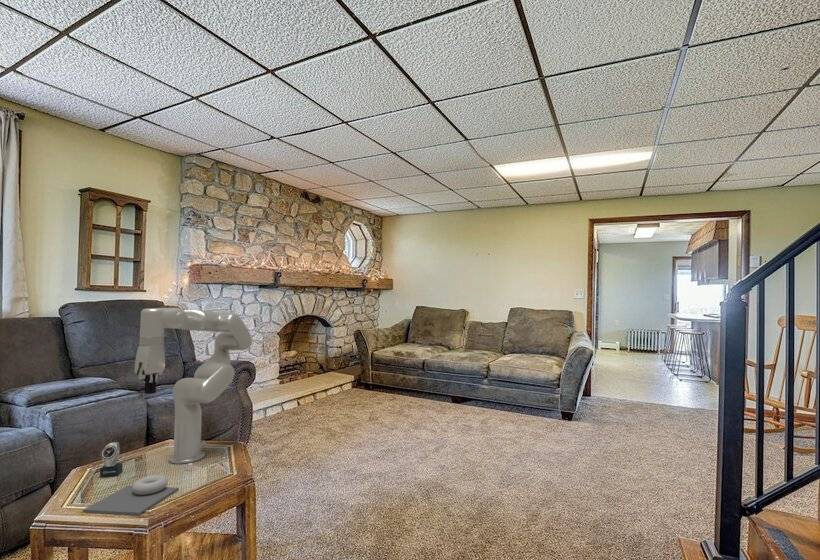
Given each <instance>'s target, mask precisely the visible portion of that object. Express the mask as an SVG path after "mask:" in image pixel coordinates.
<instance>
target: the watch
mask: <svg viewBox="0 0 820 560" xmlns="http://www.w3.org/2000/svg"><path fill="white" fill-rule="evenodd" d="M120 451H121V450H120V443H119V442H117V441H116V442H109V443H108V444H107V445H106V446H105V447H104V448H103V449H102V451H101V452H100V457H101V460H102V463H103V464H104V465H103V466H101V468H99V478H100V477H102V478H110V477H118V476H119V475H120V474H122V473H123V465H124V463H123V462H118V461H119V458H120V454H121V453H120Z"/></svg>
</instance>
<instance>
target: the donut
mask: <svg viewBox="0 0 820 560" xmlns="http://www.w3.org/2000/svg"><path fill="white" fill-rule="evenodd" d="M168 480H169V479H168V477H167V476H165V475H162V474H160V475H159V474H155V475H148V476H144V477H142V478H140V479H138V480H136V481H135V482H134V483H133V484H132V485H131V486H132V491H133V492H134V493H135V494H138V495H148V494H153V493H156V492H159V491H161V490H162V489H164V488H165V487H168V483H169V481H168Z"/></svg>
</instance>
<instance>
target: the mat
mask: <svg viewBox="0 0 820 560" xmlns="http://www.w3.org/2000/svg"><path fill="white" fill-rule="evenodd" d="M132 486H133V485H126V486H124V487H122V488H121V489H119V490H117V491H115V492H113V493H112V494H110V495H108V496H106V497H104V498H101V499H100V500H98V501H97V502H95V503H93V504H91V505H89V506H87V507H86V508H84V509H82V513H83V512H86V514H100V515H101V514H103V515H123V516H138V515H139V516H141V515H142V514H141V513H143V512H144V513H146V512H147V511H149V510H150V509H152V508H153V507H155V506H156V505H157V504H159V503H161V502H162V501H165V500H166V499H167V498H168V497H171V495H174V494H175V493H176V492H178V491H179V487H169V486H166V487H165V488H164V489H162V490H161V491H159V492H156V493H153V494H148V495H138V494H135V493H134V492H133V491H132ZM148 509H149V510H148ZM146 510H147V511H146ZM145 511H146V512H145ZM144 513H143V514H144ZM140 514H141V515H140Z"/></svg>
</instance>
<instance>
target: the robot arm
mask: <svg viewBox="0 0 820 560" xmlns="http://www.w3.org/2000/svg"><path fill="white" fill-rule="evenodd" d="M139 325H140V329H139V331H140V332H139V346H138V347H137V352H136V354H135V361H134V374H135V375H136V376H138V377H137V378H138V379H139V380H143V383H144V394H145V395H153V394H156V392H157V382H158V379H159V377H160V376H161V375H163V373H164V372H163V371H165V367H166V351H165V345H164V344H165V341H164V340H165V329H175V330H178V329H179V330H184V331H196V332H197V331H198V332H212V333H214V332H215V333H218V334H217V335H216V337H215V338H214V339H215V340H214V349H213V350H214V351H213V354H212V355H211V356H210V357H209V358H207V360H205V361H204V362H203V363H202V364H201V365H200V366H199V367H198V368H197V369H196V370H195V372H194V375H193V377H184V378H181V379H179V380H177V381H176V383H174V386H173V388H172V396H173V402H174V403H173V404H174V434H173V436H174V437H173V438H174V439H173V454H172V455H171V456H169V459H168V462H169V463H171V464H177V465H179V464H188V463H189V464H190V463H194V462H198V461H199V460H202V459H203V458H204V457H205V456H206V453H205V451H204V450H202V448H203V447H206V445H207V442H206V441H202V414H203V411H202V407H201V405H200V404H210V403H211V402H213V401H215V400H216V399H217V398H218V397H219V396H220V395H221V394H222V393H223V392H224V391H225V390H226V389H227V388H228V387H229V386H230V385H231V384H232V382H233V380H234V377H235V369H234V367H233V366H232V365H231V362H232V359H231V356H230V351H246V350H248V349H249V348H250V347H251V346H252V342H253V339H252V334H251V333H250V330H249V329H248V328H247V325H246V324H245V322H244V321H243V320H242V318H241V317H240V316H239V315H238V313H235V312H215V311H207V310H200V309H186V310H184V309H182V308H180V307H154V308H143V309H142V310H141V311H140V324H139Z"/></svg>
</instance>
